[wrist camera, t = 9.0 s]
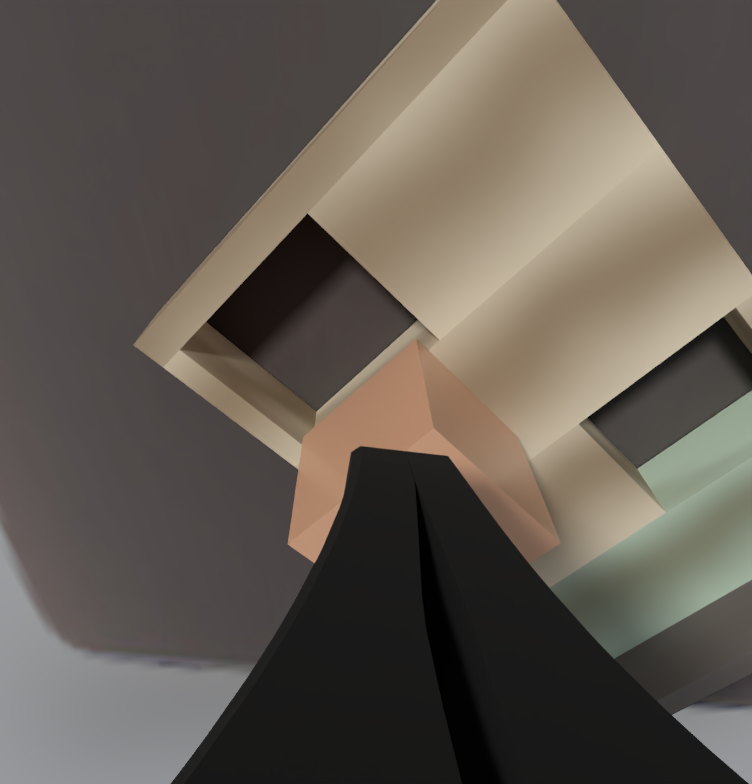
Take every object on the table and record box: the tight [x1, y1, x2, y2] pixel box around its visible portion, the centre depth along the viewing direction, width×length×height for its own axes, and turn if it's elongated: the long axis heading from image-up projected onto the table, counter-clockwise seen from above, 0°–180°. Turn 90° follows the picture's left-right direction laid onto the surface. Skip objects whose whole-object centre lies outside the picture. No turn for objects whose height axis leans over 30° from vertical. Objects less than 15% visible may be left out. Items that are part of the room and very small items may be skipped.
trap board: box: [134, 0, 752, 715], centre depth 17 cm, size 20×12×4 cm, turn 45°
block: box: [288, 339, 561, 564], centre depth 15 cm, size 4×4×4 cm
